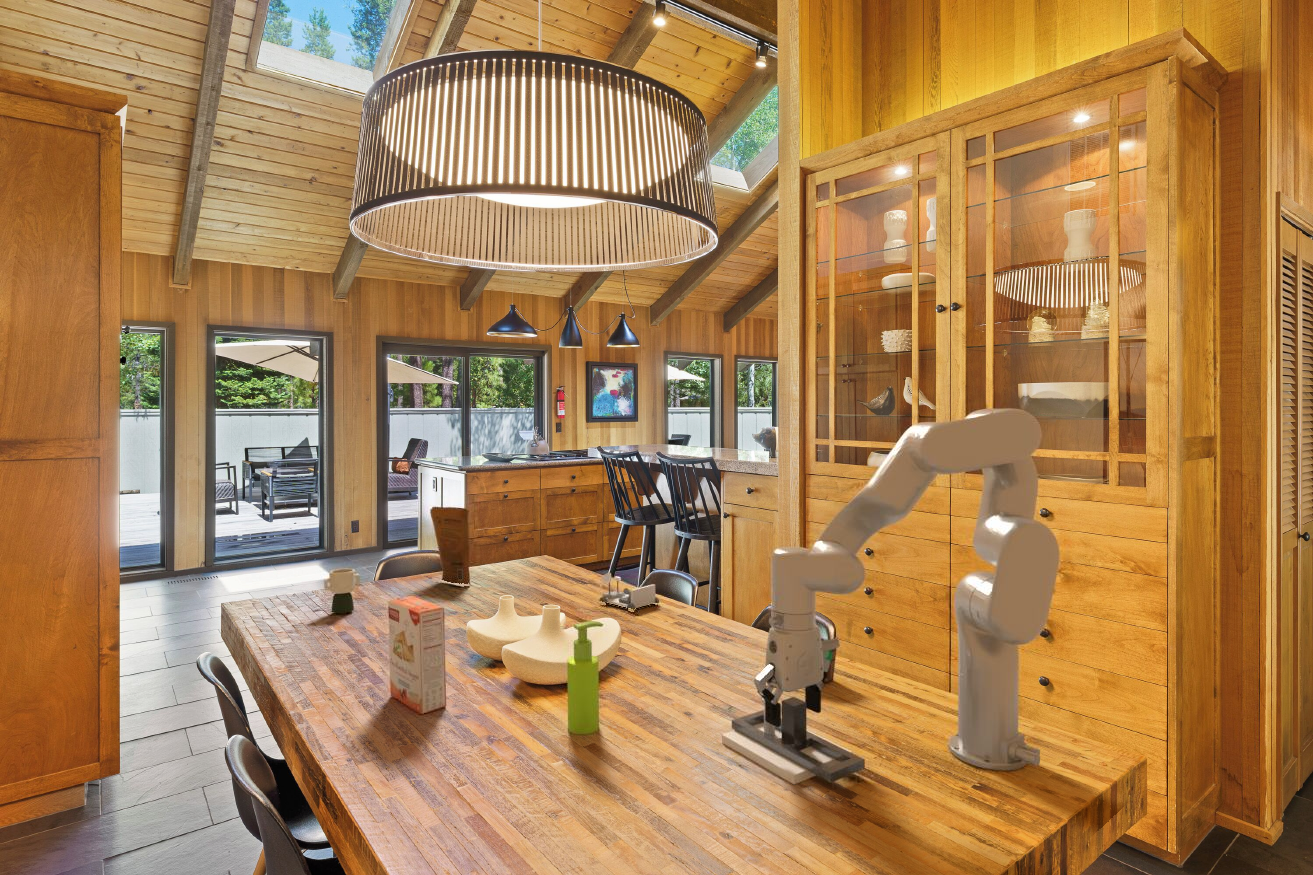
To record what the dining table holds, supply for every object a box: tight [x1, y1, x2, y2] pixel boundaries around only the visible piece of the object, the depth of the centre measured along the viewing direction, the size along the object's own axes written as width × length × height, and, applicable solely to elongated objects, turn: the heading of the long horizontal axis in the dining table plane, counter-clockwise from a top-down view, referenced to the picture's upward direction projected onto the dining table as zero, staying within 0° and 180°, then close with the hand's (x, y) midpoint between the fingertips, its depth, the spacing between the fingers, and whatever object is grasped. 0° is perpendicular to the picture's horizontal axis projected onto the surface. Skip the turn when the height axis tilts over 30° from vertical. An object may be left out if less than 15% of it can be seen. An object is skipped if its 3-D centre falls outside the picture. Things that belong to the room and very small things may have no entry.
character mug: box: [323, 568, 361, 614], centre depth 217 cm, size 11×7×13 cm, turn 138°
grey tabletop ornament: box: [598, 572, 660, 610], centre depth 225 cm, size 18×10×12 cm
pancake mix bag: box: [429, 506, 471, 585], centre depth 253 cm, size 7×19×28 cm, turn 52°
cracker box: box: [387, 595, 447, 715], centre depth 148 cm, size 14×6×21 cm, turn 45°
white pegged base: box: [721, 691, 853, 785], centre depth 125 cm, size 18×14×9 cm
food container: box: [821, 636, 841, 685], centre depth 158 cm, size 12×6×10 cm, turn 62°
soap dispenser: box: [566, 620, 604, 736], centre depth 135 cm, size 6×7×20 cm
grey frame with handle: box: [731, 696, 866, 784], centre depth 123 cm, size 24×8×8 cm, turn 34°
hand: (793, 716), depth 123 cm, fingers open, 9 cm apart
